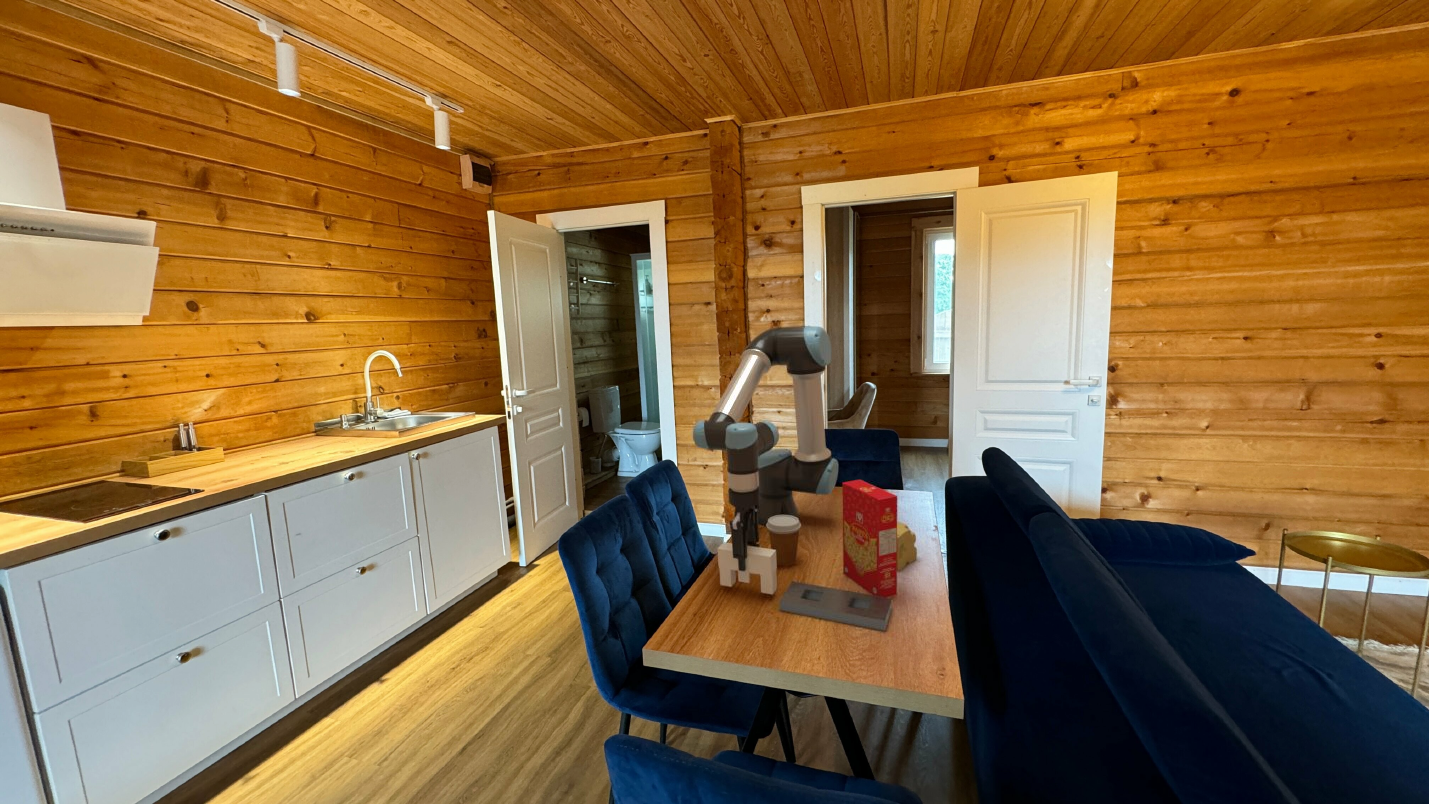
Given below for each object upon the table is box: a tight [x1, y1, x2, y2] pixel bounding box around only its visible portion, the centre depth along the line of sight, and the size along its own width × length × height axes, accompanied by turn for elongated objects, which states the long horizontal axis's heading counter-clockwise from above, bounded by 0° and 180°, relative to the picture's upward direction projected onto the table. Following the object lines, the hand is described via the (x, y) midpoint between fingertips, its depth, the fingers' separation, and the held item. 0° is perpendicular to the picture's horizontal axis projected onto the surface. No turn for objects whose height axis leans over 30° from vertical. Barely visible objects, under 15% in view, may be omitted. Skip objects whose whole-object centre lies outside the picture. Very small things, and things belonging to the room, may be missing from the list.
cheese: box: [897, 520, 918, 572], centre depth 152 cm, size 10×11×10 cm
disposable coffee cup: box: [765, 515, 802, 567], centre depth 154 cm, size 10×10×12 cm
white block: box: [717, 541, 778, 595], centre depth 138 cm, size 14×4×10 cm, turn 65°
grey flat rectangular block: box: [778, 580, 893, 632], centre depth 129 cm, size 24×10×2 cm, turn 65°
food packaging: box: [841, 479, 898, 598], centre depth 138 cm, size 15×5×25 cm, turn 21°
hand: (747, 576), depth 138 cm, fingers closed on white block, 4 cm apart
